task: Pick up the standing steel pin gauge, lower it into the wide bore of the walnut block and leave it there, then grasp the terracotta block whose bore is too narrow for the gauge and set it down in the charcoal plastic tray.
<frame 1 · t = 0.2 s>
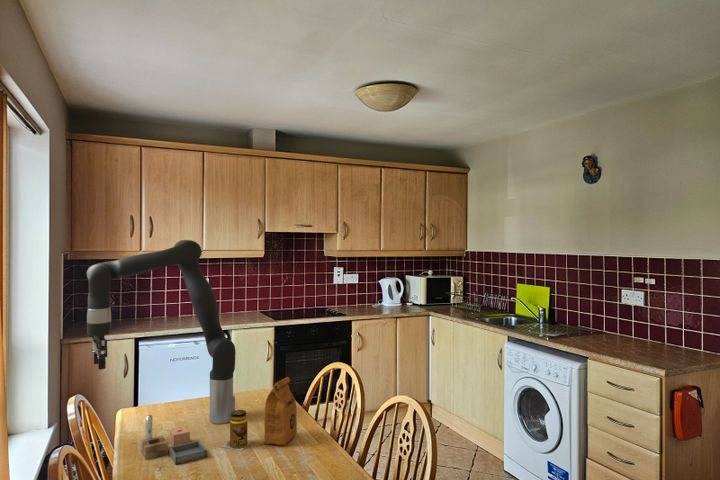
hand: (99, 366, 172), 28 cm above the table, tool pointing down, fingers open, 8 cm apart
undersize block: (179, 444, 174), on the table
condiment: (236, 445, 174), on the table
tray: (187, 455, 165), on the table
pin gauge: (148, 443, 175), on the table
go block: (154, 453, 167), on the table
coffee package: (281, 440, 179), on the table
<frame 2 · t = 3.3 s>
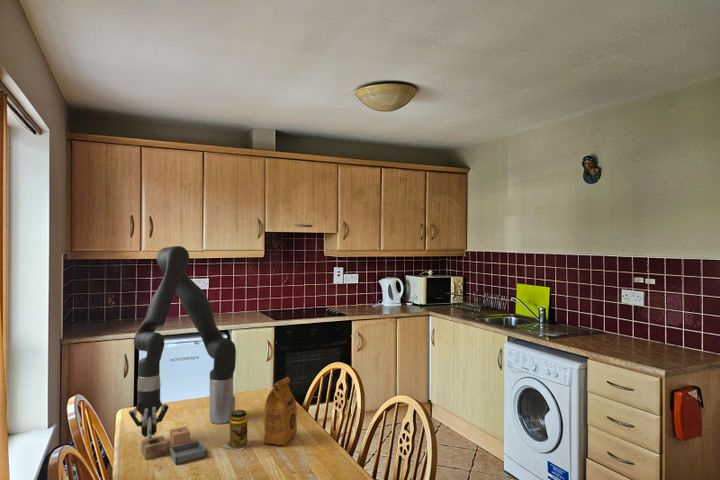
hand: (148, 435, 175), 3 cm above the table, tool pointing down, fingers closed on pin gauge, 2 cm apart
pin gauge: (148, 443, 175), on the table, touching gripper
everything else where it was.
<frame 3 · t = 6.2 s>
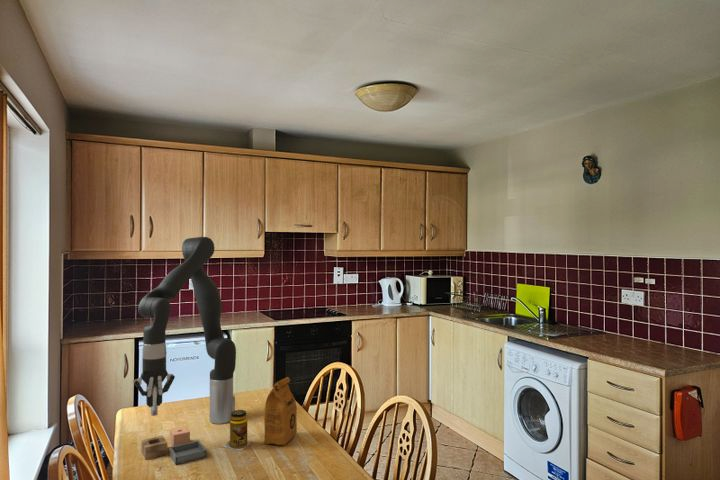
hand: (154, 405, 167), 16 cm above the table, tool pointing down, fingers closed on pin gauge
pin gauge: (154, 414, 167), point 13 cm above the table, touching gripper
everything else where it was.
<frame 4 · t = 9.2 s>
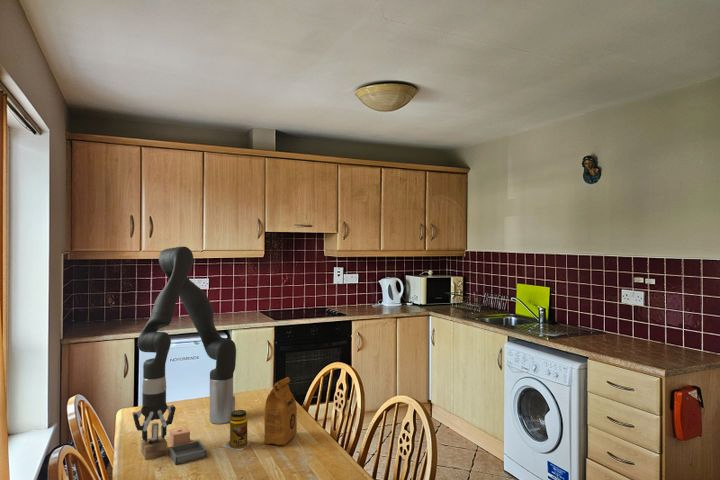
hand: (154, 438, 167), 5 cm above the table, tool pointing down, fingers open, 5 cm apart
pin gauge: (154, 452, 167), resting in go block
everything else where it was.
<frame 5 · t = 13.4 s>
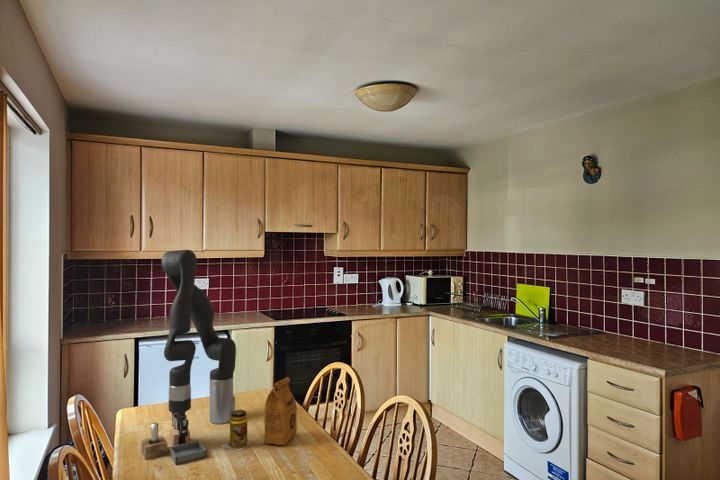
hand: (179, 443, 174), 1 cm above the table, tool pointing down, fingers closed on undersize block, 5 cm apart
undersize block: (179, 444, 174), on the table, touching gripper
everything else where it was.
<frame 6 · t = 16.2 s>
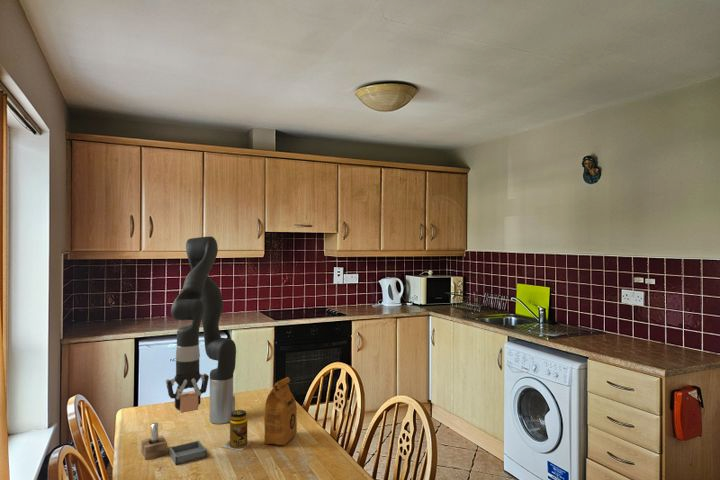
hand: (187, 407, 165), 17 cm above the table, tool pointing down, fingers closed on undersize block, 5 cm apart
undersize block: (187, 408, 165), point 16 cm above the table, touching gripper
everything else where it was.
when the fingers open (3 cm above the table, at t = 19.0 s): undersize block drops 2 cm, resting on tray.
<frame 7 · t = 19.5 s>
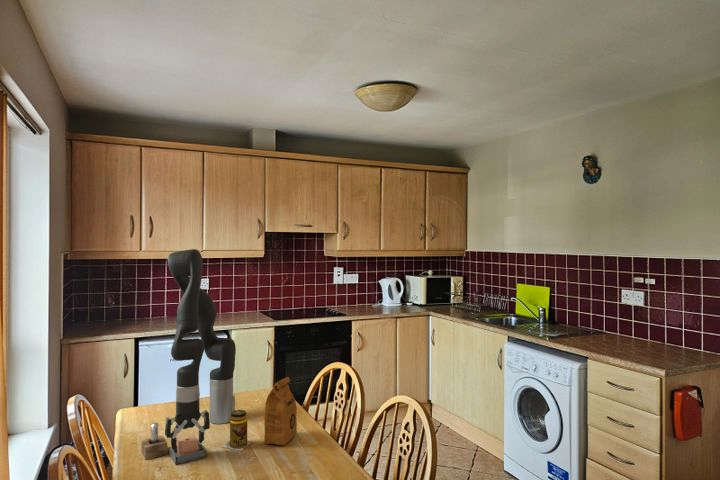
hand: (187, 445, 165), 4 cm above the table, tool pointing down, fingers open, 8 cm apart
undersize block: (187, 454, 165), point 1 cm above the table, touching tray
everything else where it was.
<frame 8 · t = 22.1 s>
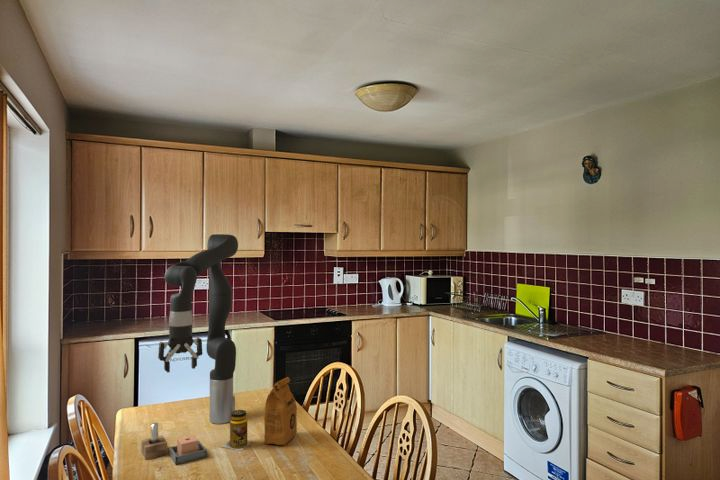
hand: (180, 370, 169), 28 cm above the table, tool pointing down, fingers open, 8 cm apart
nothing on the table moved.
at the end: pin gauge 0.1 cm off-centre on the go block, point 0.0 cm above the go block's base; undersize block inside the target area on the tray (0.1 cm from its centre), point 0.6 cm above the tray's base; the gripper is holding nothing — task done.
